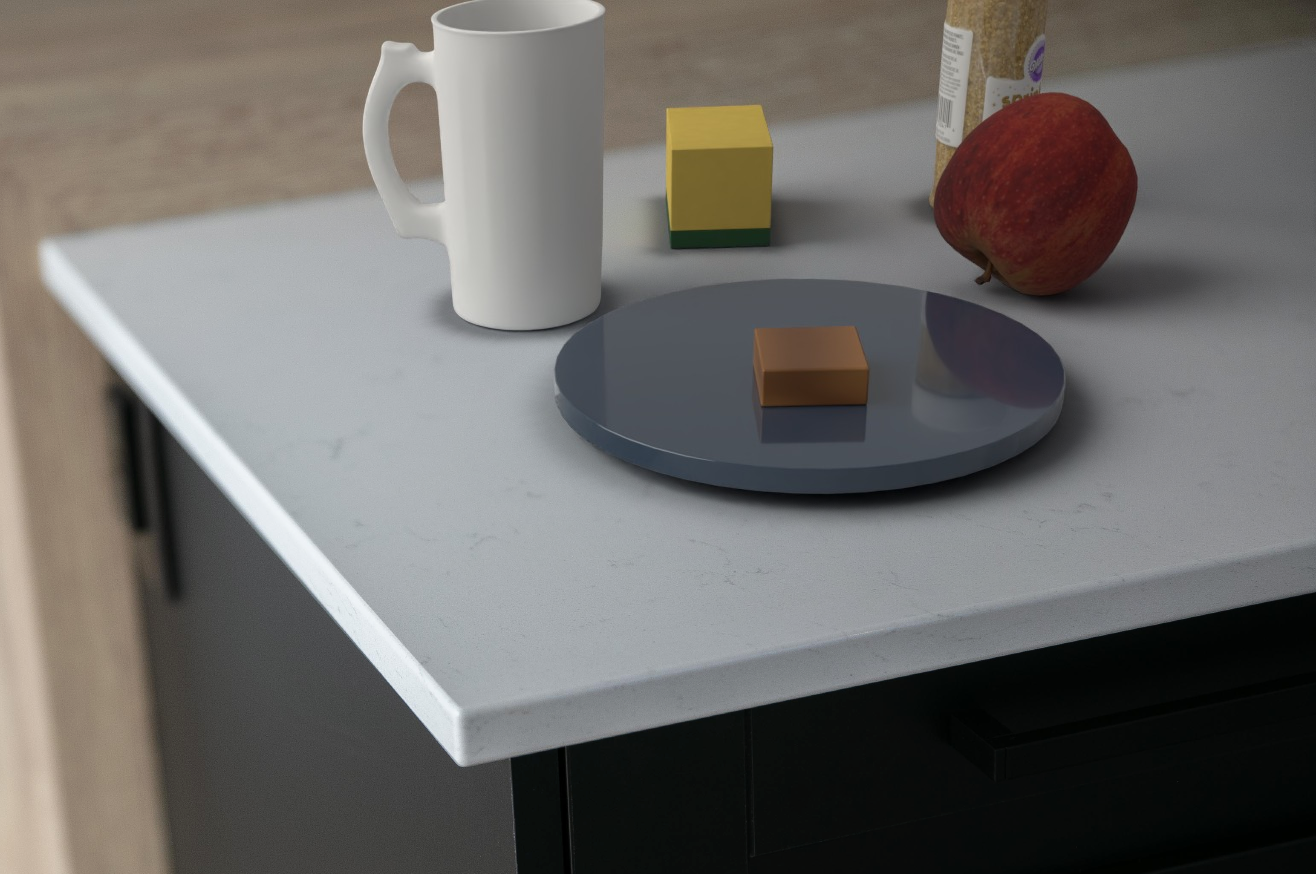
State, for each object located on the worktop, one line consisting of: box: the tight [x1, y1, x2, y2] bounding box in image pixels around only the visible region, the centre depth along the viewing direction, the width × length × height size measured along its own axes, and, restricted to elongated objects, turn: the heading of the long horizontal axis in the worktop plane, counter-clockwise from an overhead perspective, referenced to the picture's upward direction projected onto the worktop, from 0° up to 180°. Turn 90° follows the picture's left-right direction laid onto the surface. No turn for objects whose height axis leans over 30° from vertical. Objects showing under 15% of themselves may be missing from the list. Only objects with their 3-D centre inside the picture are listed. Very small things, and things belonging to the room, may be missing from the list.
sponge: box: [665, 104, 774, 249], centre depth 85 cm, size 7×4×4 cm, turn 174°
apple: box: [932, 91, 1139, 296], centre depth 74 cm, size 7×8×8 cm
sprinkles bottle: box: [928, 0, 1049, 208], centre depth 83 cm, size 5×5×14 cm
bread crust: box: [753, 326, 870, 407], centre depth 65 cm, size 4×4×1 cm
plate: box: [553, 278, 1066, 495], centre depth 68 cm, size 18×18×2 cm
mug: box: [362, 0, 607, 331], centre depth 76 cm, size 10×7×12 cm, turn 74°
